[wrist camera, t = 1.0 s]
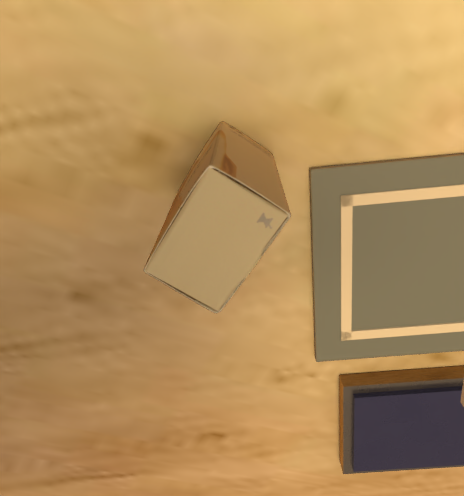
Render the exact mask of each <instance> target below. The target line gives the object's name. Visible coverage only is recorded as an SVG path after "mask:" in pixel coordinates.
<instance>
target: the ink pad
mask: <svg viewBox="0 0 464 496" xmlns="http://www.w3.org/2000/svg"><path fill="white" fill-rule="evenodd" d="M463 379H464V366H451V367H437V368H424V369H410V370H397V371H383V372H370V373H356V374H343V375H339V427H340V464H341V467H342V471H343V474H352V473H368V472H383V471H399V470H415V469H431V468H446V467H462V466H464V407H463V405H462V404H461V402H460V401H461V394H462V387H463Z"/></svg>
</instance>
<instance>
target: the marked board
mask: <svg viewBox="0 0 464 496" xmlns="http://www.w3.org/2000/svg"><path fill="white" fill-rule="evenodd" d="M309 171H310V204H311V238H312V271H313V304H314V337H315V359H316V362H321V361H334V360H347V359H361V358H374V357H387V356H400V355H413V354H427V353H440V352H453V351H464V153H459V154H448V155H438V156H428V157H417V158H407V159H396V160H386V161H375V162H365V163H355V164H344V165H334V166H323V167H313V168H309Z"/></svg>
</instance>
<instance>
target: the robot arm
mask: <svg viewBox="0 0 464 496" xmlns="http://www.w3.org/2000/svg"><path fill="white" fill-rule="evenodd" d="M460 402H461V404H462V405H463V407H464V379H463V387H462V394H461V401H460Z"/></svg>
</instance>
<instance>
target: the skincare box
mask: <svg viewBox="0 0 464 496" xmlns="http://www.w3.org/2000/svg"><path fill="white" fill-rule="evenodd" d="M290 217H291V213H290V210H289V207H288V204H287V200H286V197H285V193H284V190H283V187H282V184H281V181H280V177H279V174H278V170H277V167H276V164H275V160H274V157H273V154H272V153H270V152H269V151H268V150H266V149H265V148H264V147H262V146H261V145H259V144H258V143H256V142H255V141H254V140H252V139H251V138H249V137H248V136H246V135H245V134H243V133H242V132H240V131H238V130H237V129H235V128H234V127H232V126H230V125H229V124H227V123H225V122H223V121H222V122H220V124H219V125H218V127H217V128H216V130H215V131H214V133H213V134H212V136H211V137H210V139H209V140H208V142H207V143H206V145H205V146H204V148H203V149H202V151H201V153H200V154H199V156H198V157H197V159H196V161H195V162H194V164H193V166H192V168H191V169H190V171H189V173H188V175H187V176H186V178H185V180H184V182H183V184H182V185H181V187H180V189H179V191H178V192H177V195H176V197H175V199H174V201H173V204H172V206H171V209H170V211H169V213H168V215H167V218H166V220H165V222H164V225H163V227H162V229H161V231H160V234H159V236H158V238H157V241H156V243H155V245H154V247H153V250H152V252H151V254H150V256H149V258H148V261H147V263H146V266H145V268H144V272H145V273H146V274H148V275H150V276H151V277H153V278H155V279H157V280H158V281H160V282H161V283H163V284H165V285H166V286H168V287H170V288H171V289H173V290H175V291H176V292H178V293H180V294H182V295H183V296H185V297H187V298H189V299H190V300H192V301H194V302H195V303H197V304H199V305H201V306H202V307H204V308H206V309H208V310H210V311H211V312H213V313H219V312H221V311H222V309H223V308H224V307H225V305H226V304H227V303H228V301H229V300H230V299H231V297H232V296H233V295H234V293H235V292H236V291H237V289H238V288H239V287H240V285H241V284H242V283H243V281H244V280H245V279H246V277H247V276H248V275H249V274H250V272H251V271H252V270H253V268H254V267H255V265H256V264H257V263H258V261H259V260H260V258H261V257H262V255H263V254H264V253H265V251H266V250H267V249H268V247H269V246H270V245H271V243H272V242H273V241H274V239H275V238H276V236H277V235H278V234H279V232H280V231H281V230H282V228H283V227H284V225H285V224H286V223H287V221H288V220H289V219H290Z"/></svg>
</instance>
